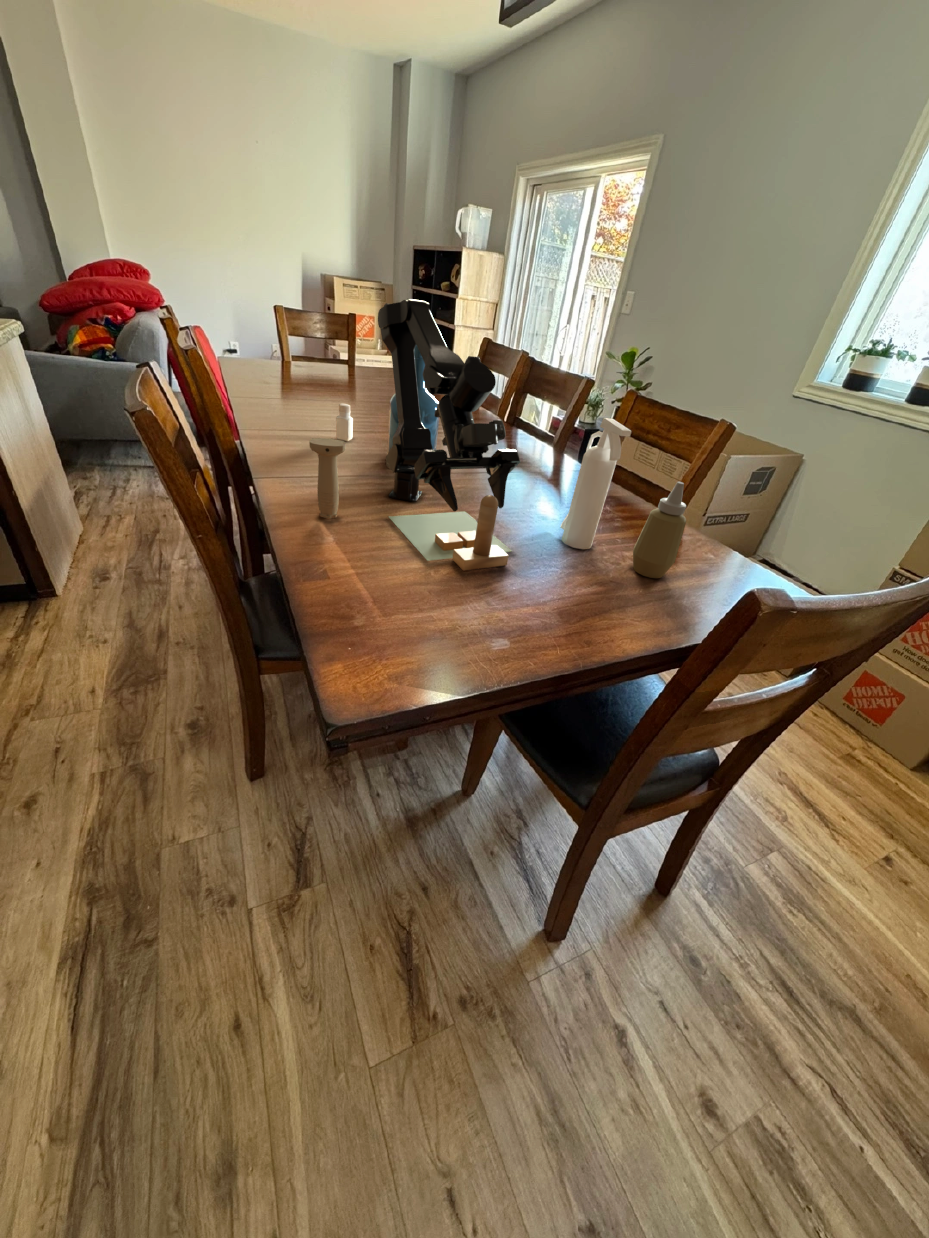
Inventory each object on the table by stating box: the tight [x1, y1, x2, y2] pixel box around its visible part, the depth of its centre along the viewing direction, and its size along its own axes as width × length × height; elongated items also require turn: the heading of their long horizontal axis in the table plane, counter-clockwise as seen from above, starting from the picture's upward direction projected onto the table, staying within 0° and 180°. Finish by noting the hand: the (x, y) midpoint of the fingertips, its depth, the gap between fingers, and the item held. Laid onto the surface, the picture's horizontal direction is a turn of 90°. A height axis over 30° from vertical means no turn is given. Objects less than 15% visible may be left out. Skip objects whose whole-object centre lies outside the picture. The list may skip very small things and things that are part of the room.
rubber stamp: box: [451, 494, 510, 572], centre depth 89 cm, size 9×4×14 cm, turn 117°
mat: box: [387, 510, 513, 562], centre depth 102 cm, size 20×18×1 cm
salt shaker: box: [335, 403, 354, 442], centre depth 147 cm, size 4×4×10 cm
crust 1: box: [435, 533, 463, 551], centre depth 96 cm, size 4×4×2 cm
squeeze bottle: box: [632, 481, 687, 579], centre depth 96 cm, size 8×8×18 cm
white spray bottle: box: [559, 417, 632, 550], centre depth 102 cm, size 7×12×25 cm, turn 16°
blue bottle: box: [386, 345, 440, 454], centre depth 133 cm, size 14×13×30 cm
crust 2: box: [458, 531, 476, 548], centre depth 98 cm, size 4×4×2 cm
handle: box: [309, 437, 347, 520], centre depth 97 cm, size 5×6×15 cm
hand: (479, 509), depth 89 cm, fingers open, 9 cm apart
